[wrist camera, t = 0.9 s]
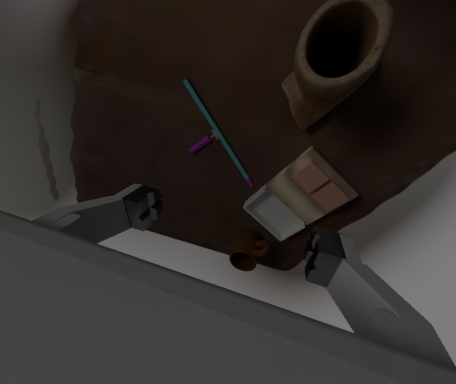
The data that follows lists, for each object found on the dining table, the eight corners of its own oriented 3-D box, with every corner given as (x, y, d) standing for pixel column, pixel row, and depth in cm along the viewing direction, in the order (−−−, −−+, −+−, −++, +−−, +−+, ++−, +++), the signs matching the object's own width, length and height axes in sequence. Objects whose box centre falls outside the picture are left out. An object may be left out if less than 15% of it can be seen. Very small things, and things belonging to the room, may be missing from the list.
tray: (266, 184, 47) (264, 189, 44) (304, 220, 48) (305, 227, 46) (245, 201, 51) (242, 207, 48) (281, 234, 53) (280, 241, 50)
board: (312, 145, 39) (312, 148, 37) (355, 189, 41) (359, 195, 39) (267, 182, 46) (266, 187, 44) (306, 219, 48) (306, 225, 46)
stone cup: (344, 0, 28) (382, -67, 16) (385, 66, 30) (448, 51, 18) (265, 82, 36) (250, 79, 24) (302, 129, 38) (305, 150, 26)
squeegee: (157, 106, 44) (185, 78, 39) (161, 105, 46) (188, 78, 41) (223, 199, 52) (253, 186, 47) (225, 196, 54) (255, 183, 49)
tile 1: (311, 159, 38) (312, 162, 36) (328, 175, 39) (329, 179, 37) (292, 174, 41) (292, 178, 39) (308, 189, 41) (308, 193, 40)
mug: (264, 218, 52) (259, 242, 44) (279, 237, 53) (277, 263, 46) (232, 232, 58) (223, 255, 50) (247, 249, 60) (240, 274, 52)
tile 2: (331, 178, 39) (333, 182, 37) (347, 194, 39) (349, 199, 38) (311, 192, 41) (311, 196, 40) (326, 207, 42) (327, 212, 40)
